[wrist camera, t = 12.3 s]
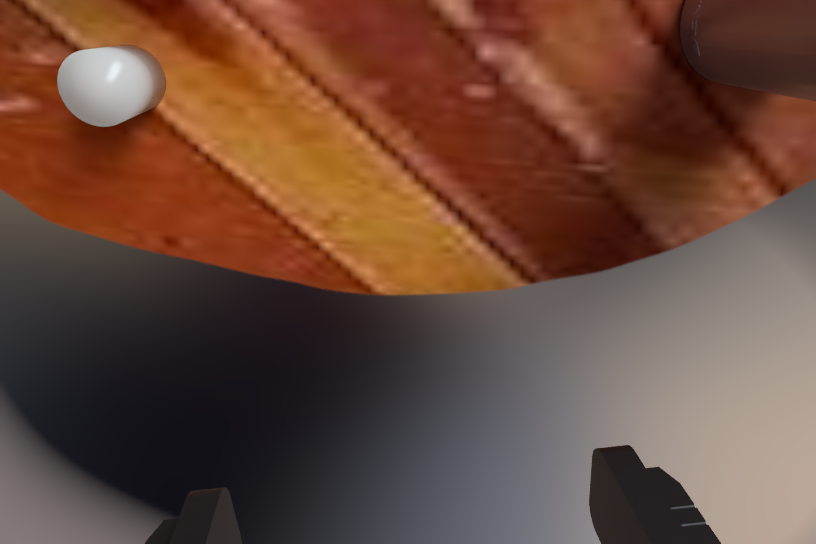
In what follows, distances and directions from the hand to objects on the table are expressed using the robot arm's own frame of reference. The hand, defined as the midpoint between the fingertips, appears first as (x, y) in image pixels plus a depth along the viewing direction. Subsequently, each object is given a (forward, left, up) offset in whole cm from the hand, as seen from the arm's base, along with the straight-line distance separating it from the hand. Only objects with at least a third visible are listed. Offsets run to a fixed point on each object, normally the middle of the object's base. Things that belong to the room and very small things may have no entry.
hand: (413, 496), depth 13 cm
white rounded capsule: (+16, -7, -34) cm, 38 cm away
